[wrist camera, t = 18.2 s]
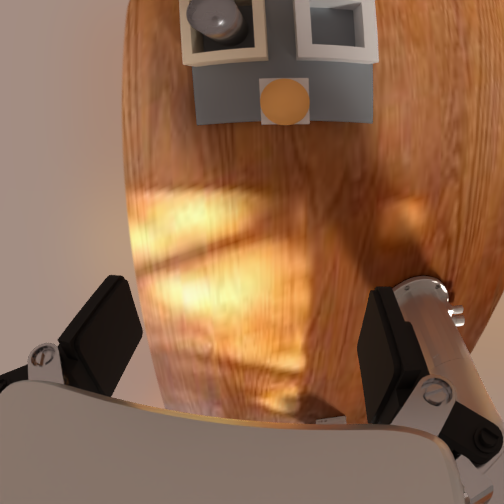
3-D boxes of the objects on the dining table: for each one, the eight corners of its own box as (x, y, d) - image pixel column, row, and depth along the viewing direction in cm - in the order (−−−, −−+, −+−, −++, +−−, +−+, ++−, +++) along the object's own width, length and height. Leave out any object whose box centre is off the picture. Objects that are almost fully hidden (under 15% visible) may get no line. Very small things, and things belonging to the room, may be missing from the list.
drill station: (364, -3, 24) (380, -18, 19) (369, 121, 32) (386, 130, 27) (191, 1, 27) (173, -13, 21) (200, 123, 35) (184, 131, 29)
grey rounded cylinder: (247, 13, 26) (234, -13, 17) (249, 45, 28) (237, 29, 19) (210, 17, 26) (185, -6, 18) (213, 48, 28) (187, 36, 20)
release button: (304, 79, 29) (308, 78, 24) (305, 118, 31) (310, 125, 26) (262, 80, 29) (258, 79, 24) (264, 119, 32) (261, 125, 27)
